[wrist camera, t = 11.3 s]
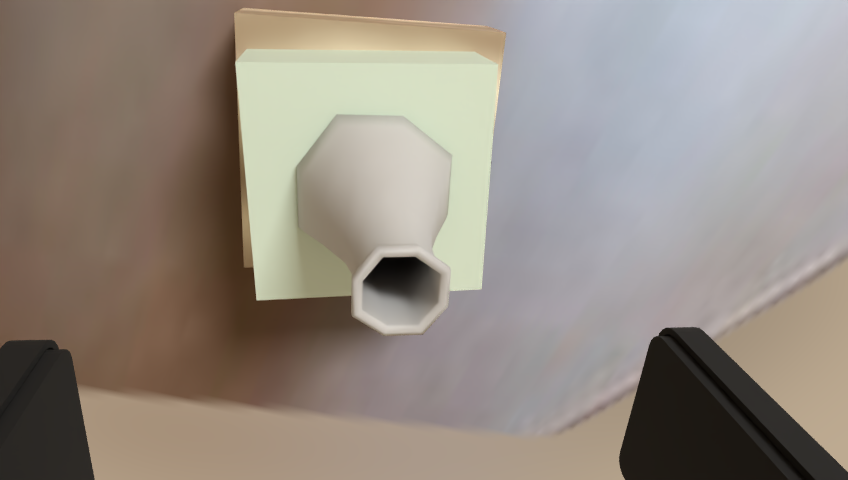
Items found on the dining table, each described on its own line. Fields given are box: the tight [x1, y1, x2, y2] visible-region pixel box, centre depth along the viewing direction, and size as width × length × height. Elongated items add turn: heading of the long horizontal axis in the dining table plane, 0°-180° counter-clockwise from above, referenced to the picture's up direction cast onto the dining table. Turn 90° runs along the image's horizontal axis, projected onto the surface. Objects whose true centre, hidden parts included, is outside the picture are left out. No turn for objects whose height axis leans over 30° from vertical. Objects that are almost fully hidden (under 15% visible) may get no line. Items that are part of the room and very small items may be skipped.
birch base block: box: [234, 8, 506, 267], centre depth 34 cm, size 13×13×4 cm
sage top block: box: [235, 49, 498, 300], centre depth 30 cm, size 11×11×4 cm
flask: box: [297, 114, 452, 336], centre depth 24 cm, size 7×7×10 cm
